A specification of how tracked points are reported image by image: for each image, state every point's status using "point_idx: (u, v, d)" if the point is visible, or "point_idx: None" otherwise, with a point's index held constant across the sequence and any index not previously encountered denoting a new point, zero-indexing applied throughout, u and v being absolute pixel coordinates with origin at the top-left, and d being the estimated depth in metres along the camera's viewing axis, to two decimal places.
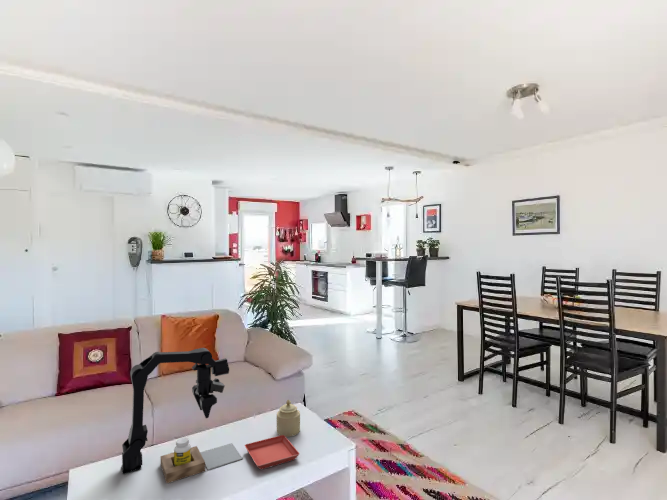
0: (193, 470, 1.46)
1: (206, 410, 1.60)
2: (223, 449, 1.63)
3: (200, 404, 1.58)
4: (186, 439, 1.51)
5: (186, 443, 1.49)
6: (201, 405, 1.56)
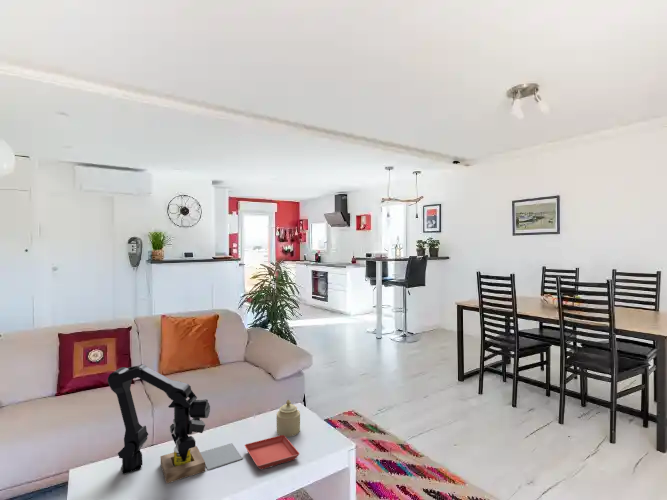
0: (193, 470, 1.46)
1: (183, 452, 1.46)
2: (223, 449, 1.63)
3: (176, 446, 1.45)
4: None
5: None
6: (177, 449, 1.41)
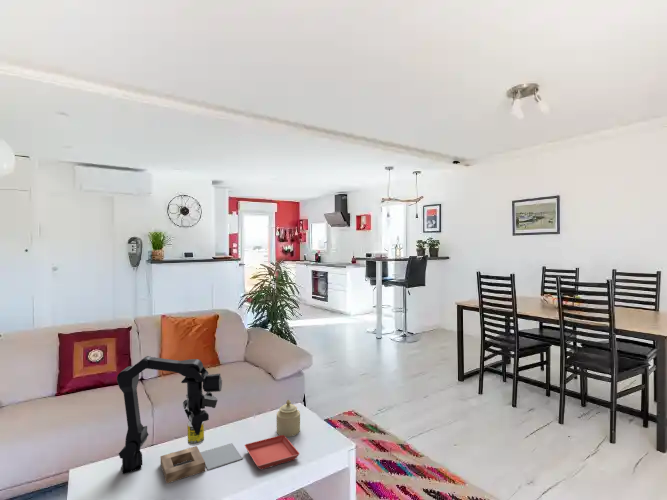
0: (193, 470, 1.46)
1: (196, 426, 1.48)
2: (223, 449, 1.63)
3: (190, 420, 1.47)
4: None
5: None
6: (191, 422, 1.44)
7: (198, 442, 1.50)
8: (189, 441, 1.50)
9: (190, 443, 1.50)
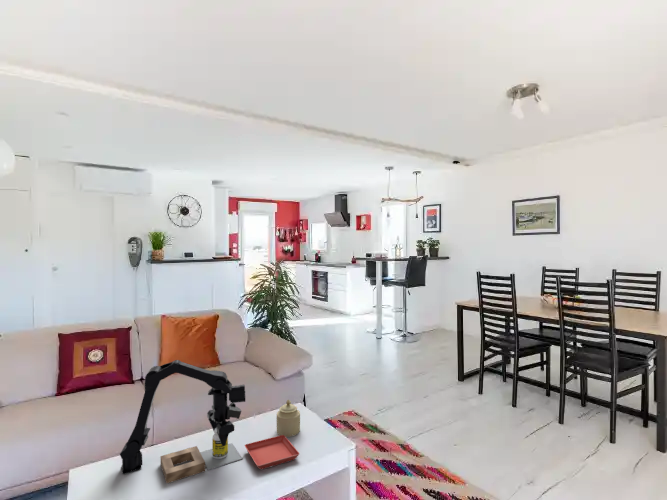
0: (193, 470, 1.46)
1: (223, 438, 1.53)
2: None
3: (217, 432, 1.51)
4: None
5: None
6: (218, 433, 1.49)
7: (223, 455, 1.56)
8: (214, 454, 1.56)
9: (215, 456, 1.55)
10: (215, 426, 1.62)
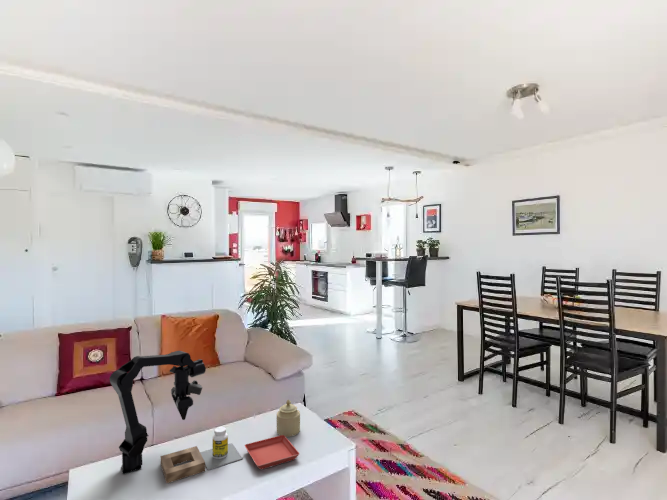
0: (193, 470, 1.46)
1: (182, 412, 1.62)
2: None
3: None
4: (223, 428, 1.59)
5: (224, 432, 1.57)
6: (177, 407, 1.59)
7: (223, 455, 1.56)
8: (214, 454, 1.56)
9: (215, 456, 1.55)
10: None
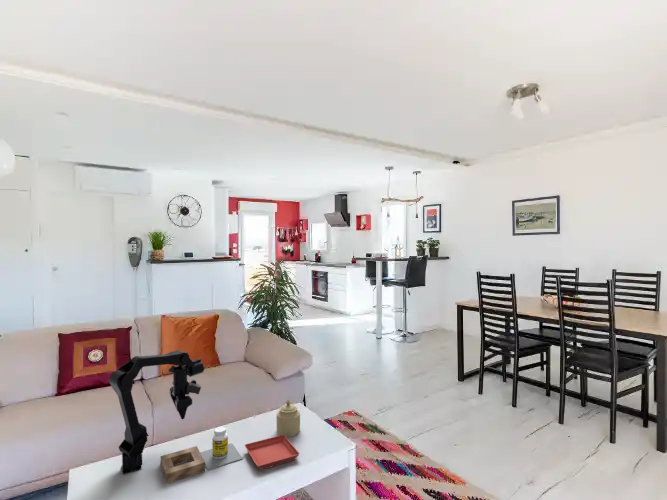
0: (193, 470, 1.46)
1: (182, 411, 1.62)
2: None
3: None
4: (223, 428, 1.59)
5: (224, 432, 1.57)
6: (176, 406, 1.59)
7: (223, 455, 1.56)
8: (214, 454, 1.56)
9: (215, 456, 1.55)
10: None
